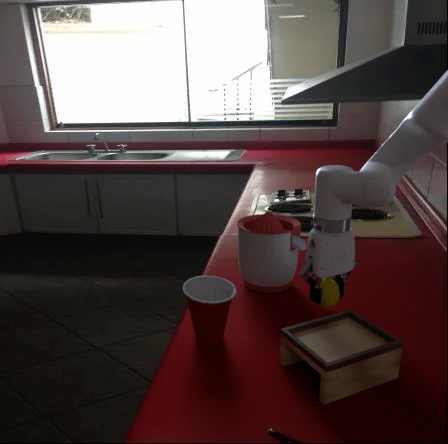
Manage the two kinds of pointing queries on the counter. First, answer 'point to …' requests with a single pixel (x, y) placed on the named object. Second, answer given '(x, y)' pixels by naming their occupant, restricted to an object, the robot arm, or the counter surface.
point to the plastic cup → (209, 306)
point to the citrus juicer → (268, 251)
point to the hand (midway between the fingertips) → (326, 297)
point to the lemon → (329, 293)
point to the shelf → (343, 353)
